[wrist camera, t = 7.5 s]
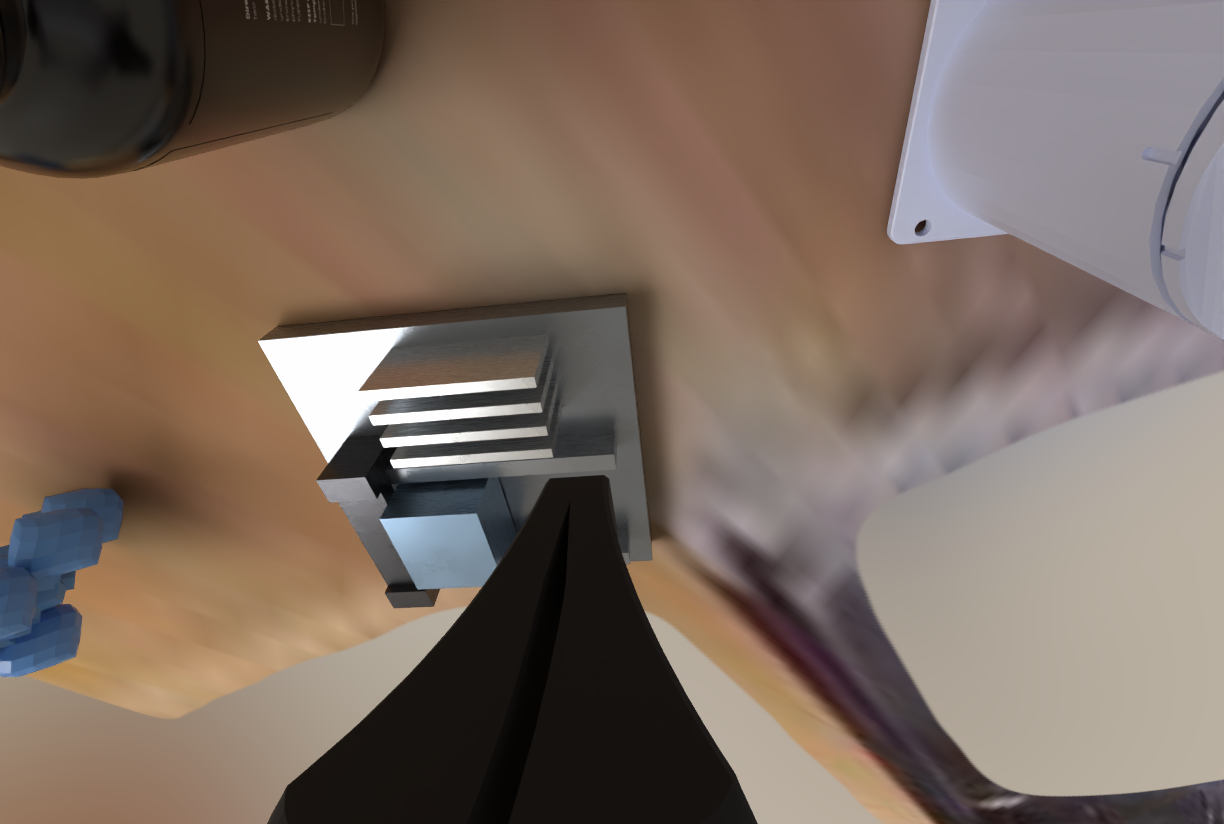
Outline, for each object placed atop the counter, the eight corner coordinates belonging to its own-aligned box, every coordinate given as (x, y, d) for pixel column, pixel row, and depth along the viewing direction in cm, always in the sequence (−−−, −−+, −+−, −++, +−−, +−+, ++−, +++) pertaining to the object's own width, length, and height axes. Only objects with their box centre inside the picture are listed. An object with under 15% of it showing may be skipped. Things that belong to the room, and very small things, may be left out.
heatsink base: (625, 293, 19) (624, 346, 16) (651, 541, 27) (654, 613, 24) (275, 326, 20) (204, 383, 17) (399, 555, 28) (368, 624, 25)
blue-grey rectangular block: (493, 462, 22) (476, 513, 20) (516, 533, 25) (504, 585, 23) (342, 473, 23) (308, 523, 21) (380, 540, 26) (354, 592, 23)
